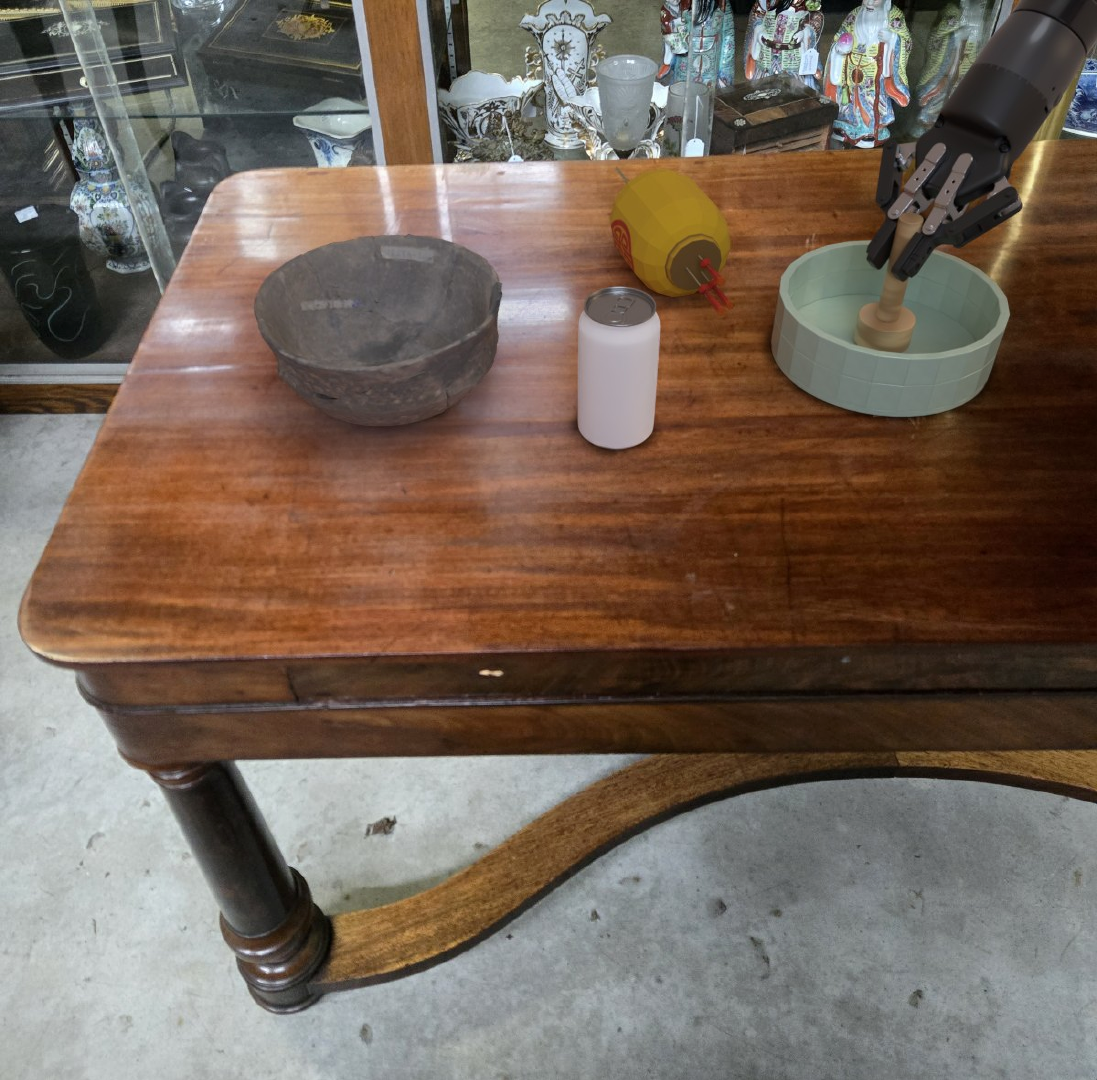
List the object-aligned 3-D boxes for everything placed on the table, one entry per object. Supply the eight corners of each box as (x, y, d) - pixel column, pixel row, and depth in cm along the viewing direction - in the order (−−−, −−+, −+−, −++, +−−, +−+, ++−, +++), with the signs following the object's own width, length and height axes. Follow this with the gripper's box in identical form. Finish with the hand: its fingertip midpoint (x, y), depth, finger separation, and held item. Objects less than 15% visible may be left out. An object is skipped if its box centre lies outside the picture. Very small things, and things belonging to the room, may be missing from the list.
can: (566, 441, 87) (565, 318, 79) (592, 398, 91) (595, 277, 83) (639, 459, 85) (646, 335, 77) (663, 414, 90) (672, 292, 81)
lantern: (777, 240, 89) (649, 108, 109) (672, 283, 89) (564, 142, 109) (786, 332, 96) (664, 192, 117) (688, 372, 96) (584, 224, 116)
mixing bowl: (1008, 325, 99) (1027, 268, 94) (964, 441, 86) (985, 382, 82) (807, 278, 105) (817, 223, 101) (741, 380, 93) (749, 322, 89)
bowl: (226, 406, 91) (198, 307, 84) (388, 304, 103) (375, 210, 96) (398, 499, 82) (382, 397, 75) (555, 376, 94) (553, 278, 87)
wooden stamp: (915, 332, 96) (948, 211, 87) (902, 361, 93) (934, 237, 84) (861, 319, 97) (889, 199, 89) (847, 346, 94) (873, 224, 86)
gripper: (929, 39, 86) (806, 222, 89) (1081, 87, 78) (940, 286, 82) (952, 87, 92) (836, 257, 95) (1095, 137, 84) (964, 320, 88)
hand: (885, 270), depth 88 cm, fingers closed on wooden stamp
